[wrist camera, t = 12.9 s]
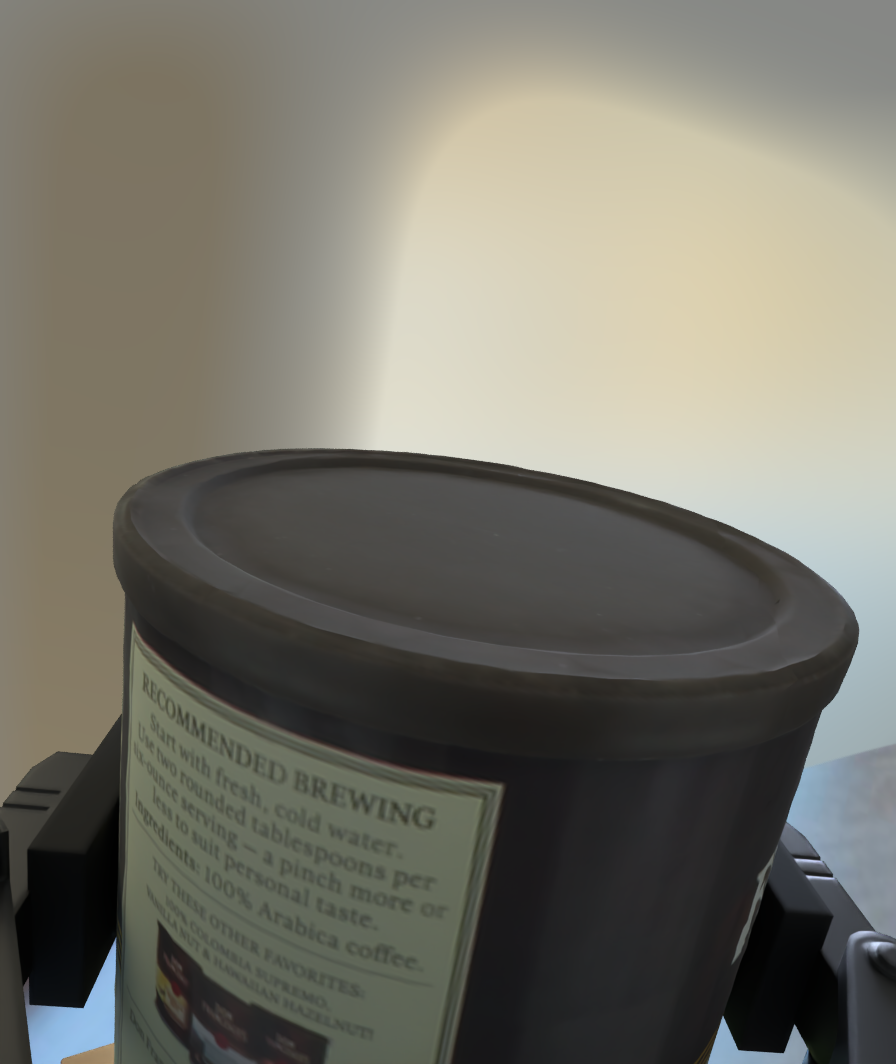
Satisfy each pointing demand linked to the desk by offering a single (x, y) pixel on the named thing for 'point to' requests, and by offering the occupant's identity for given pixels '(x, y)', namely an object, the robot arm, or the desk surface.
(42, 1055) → the desk surface
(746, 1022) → the robot arm
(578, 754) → the coffee can
